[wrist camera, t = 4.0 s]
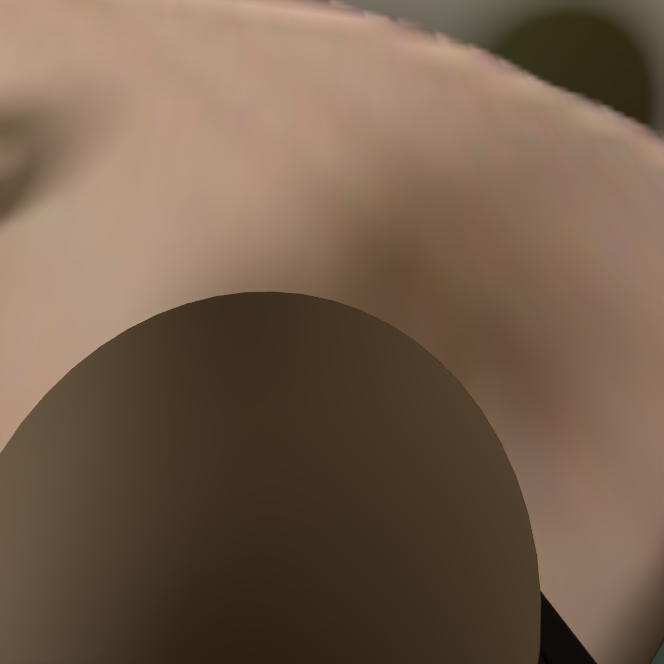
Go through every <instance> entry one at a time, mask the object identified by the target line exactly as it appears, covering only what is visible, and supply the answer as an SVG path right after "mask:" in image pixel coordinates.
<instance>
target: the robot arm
mask: <svg viewBox="0 0 664 664" xmlns="http://www.w3.org/2000/svg"><path fill="white" fill-rule="evenodd" d="M540 595H541V623H540V651H539V658H538V664H597V663H596V662H595V660H594V659H593V658H592V657H591V655H590V654H589V653H588V651H587V650H586V649H585V648H584V646H583V645H582V644H581V642H580V641H579V640H578V638H577V637H576V636H575V635H574V633H573V632H572V631H571V629H570V628H569V627H568V626H567V624H566V623H565V622H564V620H563V619H562V618H561V617H560V615H559V614H558V613H557V611H556V610H555V609H554V608H553V606H552V605H551V604H550V602H549V601H548V600H547V598H546V597H545V596H544V595H543V593H542V592H541V591H540Z"/></svg>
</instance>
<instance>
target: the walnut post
mask: <svg viewBox="0 0 664 664" xmlns="http://www.w3.org/2000/svg"><path fill="white" fill-rule="evenodd" d="M540 623H541V595H540V584H539V573H538V562H537V554H536V549H535V544H534V539H533V534H532V529H531V525H530V520H529V515H528V511H527V508H526V505H525V502H524V499H523V496H522V493H521V490H520V487H519V484H518V481H517V478H516V475H515V473H514V471H513V468H512V466H511V464H510V462H509V460H508V457H507V455H506V453H505V451H504V449H503V446H502V444H501V442H500V440H499V438H498V437H497V435H496V433H495V432H494V430H493V428H492V427H491V425H490V423H489V422H488V420H487V419H486V417H485V415H484V414H483V412H482V410H481V409H480V408H479V406H478V405H477V404H476V402H475V401H474V400H473V398H472V397H471V396H470V395H469V393H468V392H467V391H466V389H465V388H464V387H463V385H462V384H461V383H460V382H459V381H458V380H457V379H456V378H455V377H454V376H453V375H452V374H451V373H450V372H449V371H448V369H447V368H446V367H445V366H444V365H443V364H442V363H441V362H440V361H439V360H438V359H437V358H435V357H434V356H433V355H432V354H430V353H429V352H428V351H427V350H426V349H424V348H423V347H422V346H421V345H419V344H418V343H417V342H416V341H414V340H413V339H412V338H410V337H409V336H407V335H405V334H404V333H402V332H401V331H399V330H397V329H396V328H394V327H393V326H391V325H390V324H388V323H386V322H384V321H382V320H380V319H378V318H376V317H374V316H372V315H369V314H367V313H365V312H363V311H361V310H359V309H356V308H353V307H350V306H347V305H344V304H341V303H338V302H335V301H332V300H327V299H323V298H318V297H313V296H309V295H304V294H293V293H283V292H245V293H237V294H230V295H223V296H216V297H212V298H208V299H204V300H200V301H196V302H192V303H188V304H185V305H182V306H179V307H176V308H174V309H171V310H168V311H166V312H163V313H160V314H157V315H155V316H153V317H151V318H149V319H147V320H145V321H143V322H141V323H139V324H137V325H135V326H133V327H131V328H129V329H127V330H126V331H124V332H123V333H121V334H119V335H118V336H116V337H115V338H113V339H112V340H110V341H108V342H107V343H105V344H104V345H102V346H100V347H99V348H98V349H97V350H95V351H94V352H93V353H91V354H90V355H89V356H88V357H86V358H85V359H84V360H83V361H81V362H80V363H79V364H77V365H76V366H75V367H74V368H72V369H71V370H70V371H69V372H68V373H67V374H66V375H65V376H64V377H63V378H62V379H61V380H60V381H59V382H58V383H57V384H56V385H55V386H54V387H53V388H52V389H51V390H50V391H49V392H48V393H46V395H45V396H44V397H43V398H42V399H41V400H40V402H39V403H38V404H37V405H36V406H35V408H34V409H33V410H32V411H31V412H30V413H29V415H28V416H27V417H26V418H25V419H24V421H23V422H22V423H21V424H20V426H19V427H18V429H17V430H16V432H15V433H14V434H13V436H12V437H11V439H10V440H9V442H8V443H7V445H6V446H5V448H4V449H3V450H2V452H1V453H0V664H538V658H539V651H540Z"/></svg>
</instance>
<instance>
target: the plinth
mask: <svg viewBox="0 0 664 664" xmlns="http://www.w3.org/2000/svg"><path fill="white" fill-rule="evenodd" d="M651 664H664V642H663V644H662V645H661V647H660V649H659V650H658V652H657V654H656V656H655V657H654V659H653V661H652V662H651Z"/></svg>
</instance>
